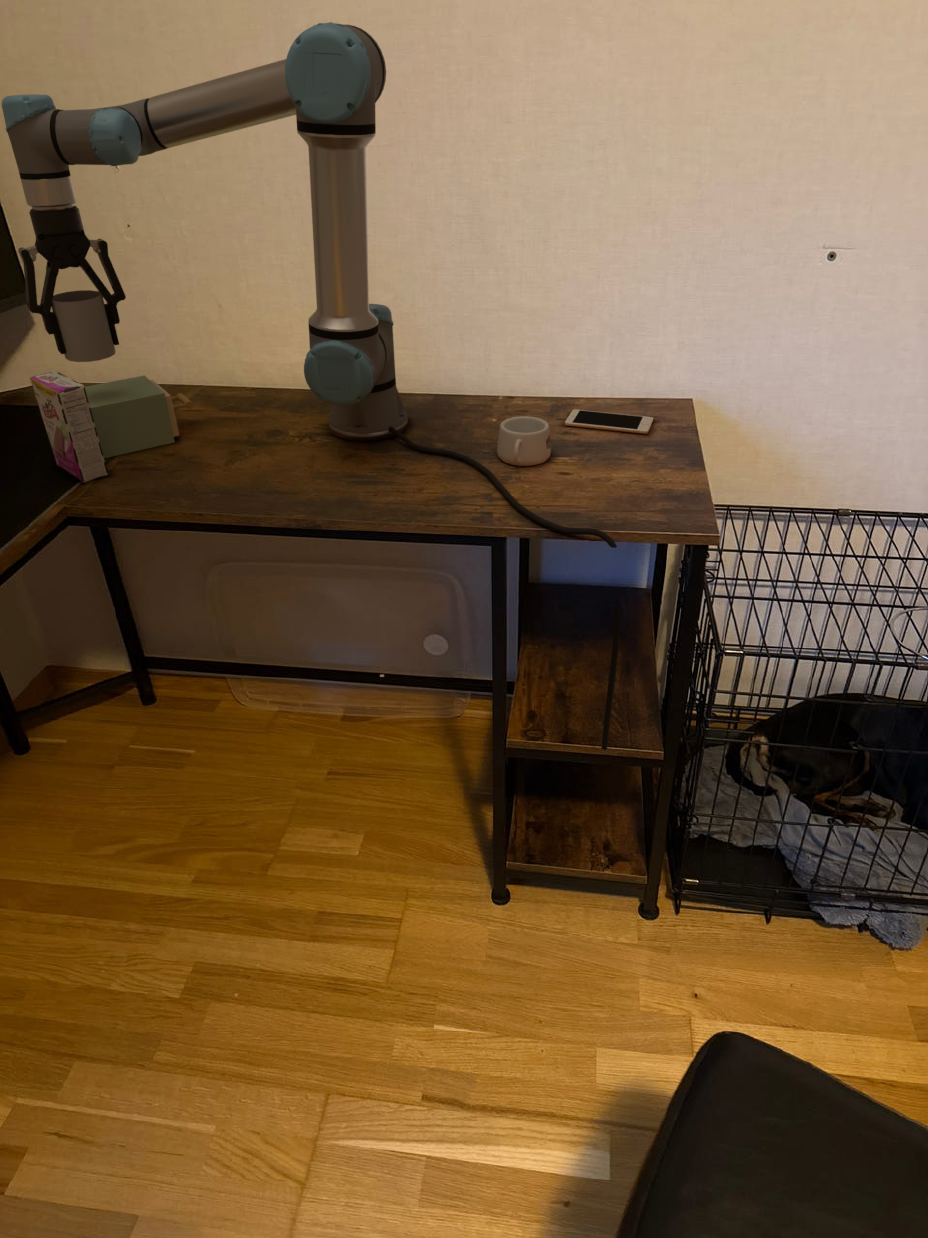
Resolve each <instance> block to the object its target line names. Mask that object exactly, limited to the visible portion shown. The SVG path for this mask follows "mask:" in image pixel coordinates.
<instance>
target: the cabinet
mask: <svg viewBox="0 0 928 1238" xmlns="http://www.w3.org/2000/svg"><path fill="white" fill-rule="evenodd" d="M150 380H151V379H149V378H148V377H147V376H146V375H140V376H134V377H128V378H123V379H119V380H113V381H108V382H107V381H106V382H102V383H97V384H92V385H88V386H87V385H85V390H86V394H87V398H88V401H89V405H90V408H91V412H92V416H93V419H94V423H95V427H96V431H97V434H98V438H99V442H100V445H101V449H102V452H103V456H104V459H108V458H113V457H117V456H121V455H126V454H129V453H134V452H139V451H143V450H147V449H152V448H156V447H162V446H164V445H170V444H173V443H176V441H175V440H176V439H175V437H174V435H173V430H172V426H171V421H170V416H169V412H168V407H167V402H166V398H165V393H164V392H163V391H162V390H160V389H159V388H158V387H157V386H156V385H155V384H154V383H152V382H151V381H150Z"/></svg>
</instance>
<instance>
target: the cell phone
mask: <svg viewBox="0 0 928 1238" xmlns="http://www.w3.org/2000/svg"><path fill="white" fill-rule="evenodd" d="M653 422H654V417H653V416H647V415H646V416H645V415H637V414H636V415H635V414H626V413H617V412H616V413H615V412H608V411H607V412H605V411H597V410H587V409H585V410H584V409H574V408H573V409H572V411H570V413H569V415H568V417H567V418H566V420H564V426H569V427H578V428H588V429H597V430H607V431H615V432H626V433H634V434H644V435H647V434H649V432H650V429H651V427H652V426H653V425H652V424H653Z"/></svg>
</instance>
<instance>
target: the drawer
mask: <svg viewBox="0 0 928 1238" xmlns="http://www.w3.org/2000/svg"><path fill="white" fill-rule="evenodd" d="M149 380H150V381H151V382H152V383H154V384H155V385H156V386H157V387H158V388H159V389H160V390H162V391H163V392H164V393H165V398H166V402H167V407H168V412H169V416H170V421H171V426H172V430H173V435H174V438H175V437H179V436H180V432H179V427H178V423H177V416H176V412H175V410H179V409H184V408H187V409H193V407H194V402H193V401H192V400H190V399H189V398H188V397H187V396H185V394H183V393H182V392H178V393H177V394H176V395H175V396H172V395H171V394H170V393H168V392H167V391H166V390H165V389H164V388H163V387H162V386H161V385H159V384H158V383H157V382H156V381H155V380H154V379H149ZM173 401H179V402H180V404H179V403H178V404H175V405H174V403H173Z"/></svg>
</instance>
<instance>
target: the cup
mask: <svg viewBox="0 0 928 1238" xmlns="http://www.w3.org/2000/svg"><path fill="white" fill-rule="evenodd" d="M105 304H106V303H105V299H104V298H103V296H102V293H100V292H99V291H98V290H90V289H88V290H85V289H84V290H82V289H81V290H70V291H65V292H60V293H55V294H54V295H53V300H52V306H51V310H52V312H53V313H54V314H55V315H56V318H57V322H58V325H59V329H60V333H61V336H62V340H63V344H64V348H65V351H66V354H63V355H64V358H65V359H66V360H67V361H69V362H73V363H89V362H91V363H92V362H98V361H103V360H105V359H109V358H111V357H113V356H115V354H116V346H115V345H114V343H113V338H112V334H111V330H110V326H109V322H108V317H107V313H106V309H105Z"/></svg>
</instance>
